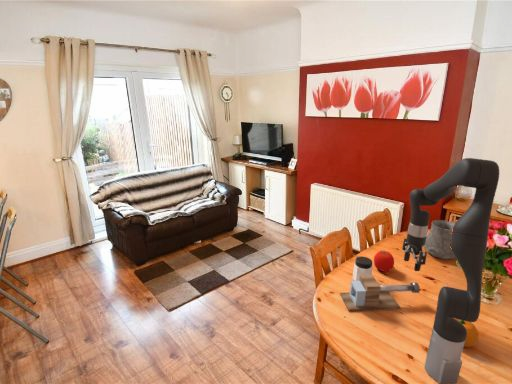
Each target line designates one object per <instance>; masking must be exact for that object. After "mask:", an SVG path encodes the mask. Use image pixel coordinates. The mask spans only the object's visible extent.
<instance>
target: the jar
mask: <svg viewBox="0 0 512 384" xmlns="http://www.w3.org/2000/svg"><path fill="white" fill-rule="evenodd" d="M352 272H353V273H352V279H353V281H359V278H360V275H372V274H373V260H372V259H371V258H369V257H367V256H361V255H360V256H357V257H356V258H355V262H354V264H353V271H352Z"/></svg>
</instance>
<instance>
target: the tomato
mask: <svg viewBox="0 0 512 384" xmlns="http://www.w3.org/2000/svg"><path fill="white" fill-rule="evenodd" d="M373 264H374V267H375V268H376V269H377V270H378V271H382V272H390V271H391V270H392V269H393V268H394V265H395V258H394V256H393V255H392V253H390V252H389V251H387V250H379V251H378V252H377V253H376V254H375V255H374V256H373Z"/></svg>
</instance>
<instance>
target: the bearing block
mask: <svg viewBox="0 0 512 384" xmlns="http://www.w3.org/2000/svg"><path fill="white" fill-rule="evenodd" d="M359 281H360V282H361V284H362V285H363V287H364V288H365V290H366V297H365V305H364V306H355V304H354V302H353V300H352V299H351V297H350V291H349V292H340V293H339V295H340V296H341V298H342V302H343V303H344V306H345V307H346V309H347V311H348V312H369V311H371V312H373V311H398V310H399V311H400V310H401V309H402V307H401V306H400V304H399V303H398V302H397V300H396V299H395V298H394V296H393V295H392V294H391V292H380V289H381V286H380V283H379V282H378V281H377V280H376V278H375V277H374V275H360V278H359Z"/></svg>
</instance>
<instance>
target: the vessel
mask: <svg viewBox="0 0 512 384" xmlns="http://www.w3.org/2000/svg"><path fill="white" fill-rule="evenodd" d="M455 223H456V222H453V221H450V220H449V221H448V220H443V219H442V220H441V219H438V220H437V219H435V220H432V222H431V226H430V230H429V232H428V233H427V237H426V243H425V245H424V246H423V248H424V250H425V251H426V252H427V253H428V254H430V255H432V256H433V257H436V258H438V259H442V260H453V259H456V257H455V255H454V253H453V251H452V249H451V248H450V244H451V239H452V234H451V233H452V228H453V227H454V225H455Z"/></svg>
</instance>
